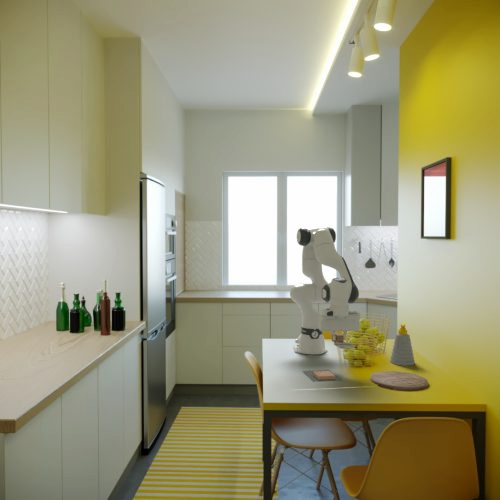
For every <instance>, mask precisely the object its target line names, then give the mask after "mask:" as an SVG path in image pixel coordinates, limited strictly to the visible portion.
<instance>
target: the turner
mask: <svg viewBox="0 0 500 500" xmlns="http://www.w3.org/2000/svg"><path fill="white" fill-rule="evenodd" d="M334 335H335V336H336V337H337V340H333V335H332V334H331V342H332V343H333V345H334V346H336V347H337V348H339V349H355V348H356V345H354V344H352V343H350V342H347V341H346V342H344V340H343V339H344V336H343V334H340V333H338V332H335V333H334Z"/></svg>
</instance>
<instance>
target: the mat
mask: <svg viewBox="0 0 500 500" xmlns="http://www.w3.org/2000/svg"><path fill="white" fill-rule="evenodd" d="M316 371H330V372H331V373H332V374H334V375H335V379H332V380H318V379H317V378H316V377H314V376H313V372H316ZM301 372H302V373H303V374H304V375H305V376H306V377H307V378H308V379H309V380H310V381H312V383H317V382H318V383H319V382H321V383H322V382H339V381H340V382H342V381H344V380H343V379H342V378H340V377H339V376H338V375H337V374H335V373H334V372H332V371H331V370H330V369H323V370H321V369H317V370H301Z"/></svg>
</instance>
